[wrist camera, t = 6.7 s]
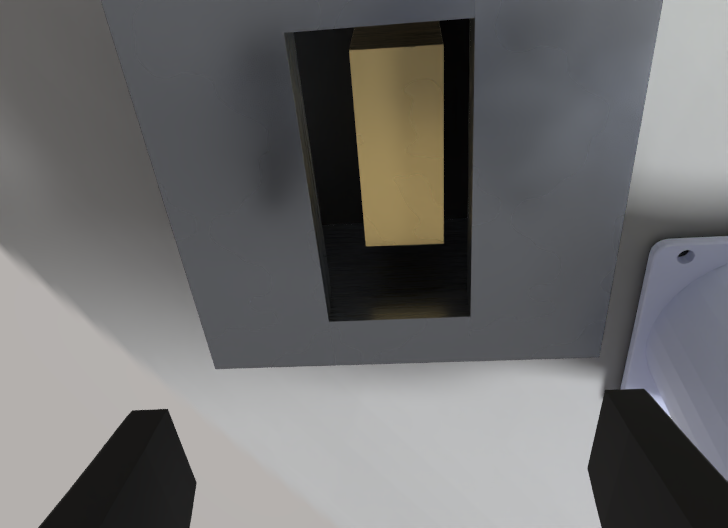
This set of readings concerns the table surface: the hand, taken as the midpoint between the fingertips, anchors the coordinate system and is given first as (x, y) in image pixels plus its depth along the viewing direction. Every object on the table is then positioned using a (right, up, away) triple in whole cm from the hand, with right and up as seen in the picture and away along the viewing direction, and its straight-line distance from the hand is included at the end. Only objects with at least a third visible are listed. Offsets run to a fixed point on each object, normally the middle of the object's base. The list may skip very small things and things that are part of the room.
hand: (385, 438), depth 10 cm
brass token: (+1, +8, +7) cm, 11 cm away
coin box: (0, +8, +7) cm, 11 cm away
